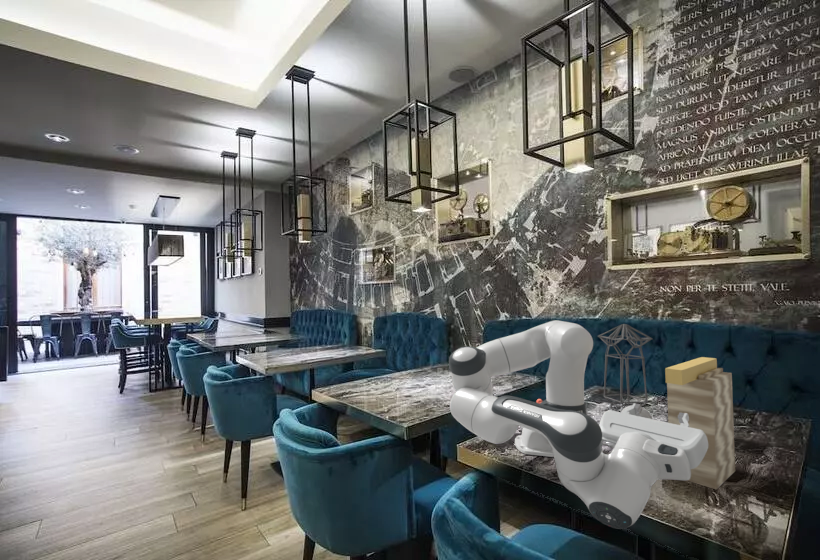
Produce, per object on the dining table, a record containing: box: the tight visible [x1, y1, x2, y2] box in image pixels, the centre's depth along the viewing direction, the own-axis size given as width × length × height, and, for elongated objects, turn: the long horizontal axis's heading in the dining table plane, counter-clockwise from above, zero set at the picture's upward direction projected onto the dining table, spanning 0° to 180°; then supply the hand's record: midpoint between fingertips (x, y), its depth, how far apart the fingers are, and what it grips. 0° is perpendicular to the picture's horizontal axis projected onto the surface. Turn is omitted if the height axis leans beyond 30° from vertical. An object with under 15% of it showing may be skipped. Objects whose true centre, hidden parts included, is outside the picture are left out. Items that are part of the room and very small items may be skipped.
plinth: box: [666, 367, 736, 490], centre depth 107 cm, size 16×10×27 cm, turn 128°
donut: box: [620, 404, 653, 419], centre depth 135 cm, size 10×4×10 cm, turn 52°
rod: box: [664, 356, 718, 385], centre depth 105 cm, size 26×4×4 cm, turn 128°
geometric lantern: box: [597, 323, 653, 412], centre depth 165 cm, size 16×16×35 cm
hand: (660, 410), depth 91 cm, fingers open, 8 cm apart
